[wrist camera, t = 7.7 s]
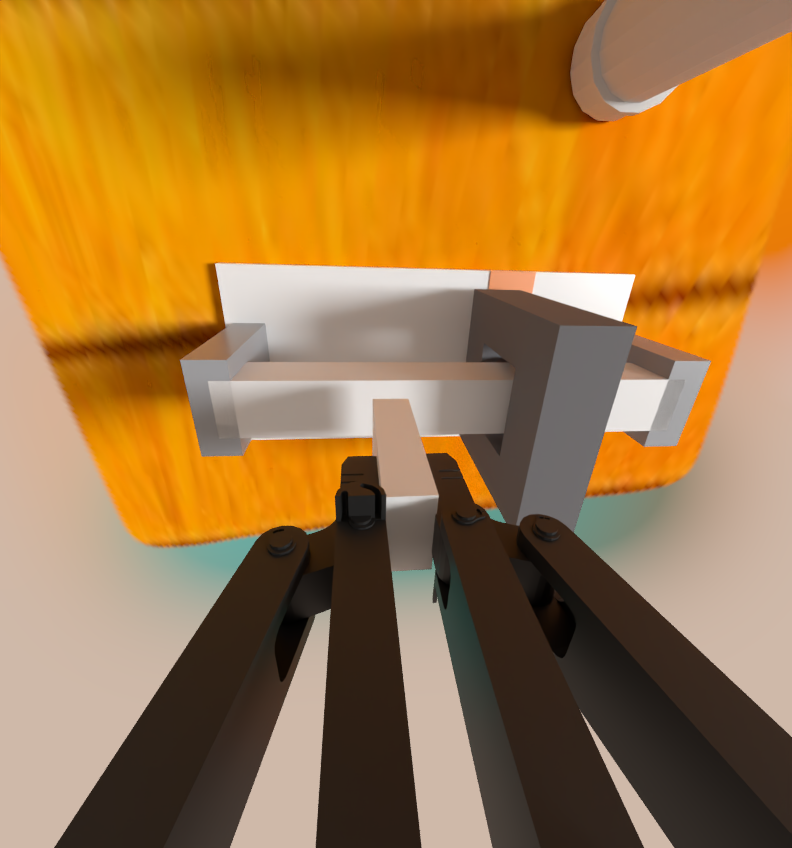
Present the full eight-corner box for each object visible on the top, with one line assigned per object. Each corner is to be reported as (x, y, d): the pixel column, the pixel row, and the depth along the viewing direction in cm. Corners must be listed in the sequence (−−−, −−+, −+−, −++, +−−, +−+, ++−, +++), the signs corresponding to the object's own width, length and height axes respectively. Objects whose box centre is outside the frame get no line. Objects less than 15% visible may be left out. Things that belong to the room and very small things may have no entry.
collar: (474, 289, 23) (560, 325, 14) (520, 290, 24) (637, 326, 14) (457, 431, 28) (513, 536, 18) (496, 431, 28) (573, 534, 18)
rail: (219, 262, 23) (145, 275, 15) (627, 273, 26) (752, 290, 18) (247, 434, 28) (203, 513, 20) (584, 429, 31) (665, 496, 23)
